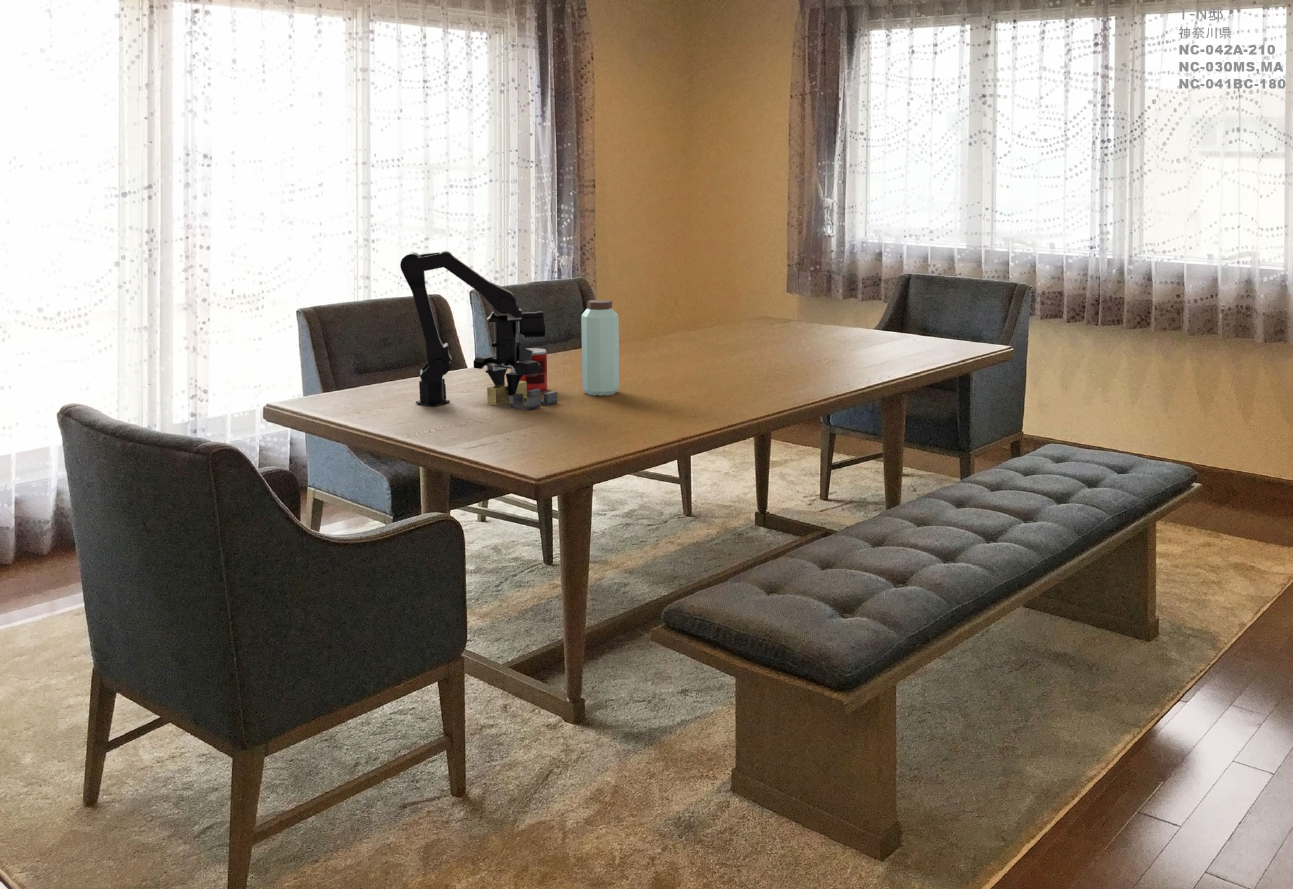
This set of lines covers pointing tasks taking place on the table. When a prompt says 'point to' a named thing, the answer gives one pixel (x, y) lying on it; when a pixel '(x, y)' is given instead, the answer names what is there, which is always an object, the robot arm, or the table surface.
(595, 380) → the water bottle
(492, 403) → the tan rectangular block
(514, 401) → the bracket
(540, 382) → the canned food
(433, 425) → the table surface
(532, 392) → the far chain end
